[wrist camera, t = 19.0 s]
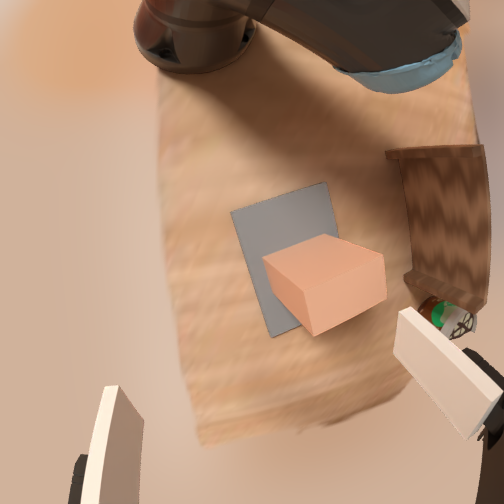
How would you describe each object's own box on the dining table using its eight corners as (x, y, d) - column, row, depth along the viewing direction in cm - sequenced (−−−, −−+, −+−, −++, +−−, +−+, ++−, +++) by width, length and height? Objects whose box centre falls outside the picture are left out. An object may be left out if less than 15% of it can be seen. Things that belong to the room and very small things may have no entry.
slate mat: (230, 212, 33) (231, 212, 33) (324, 182, 36) (326, 182, 35) (269, 335, 39) (271, 337, 38) (347, 300, 41) (349, 301, 41)
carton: (261, 257, 35) (303, 291, 24) (324, 233, 37) (383, 254, 25) (272, 292, 37) (313, 336, 25) (331, 267, 38) (387, 298, 27)
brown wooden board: (385, 151, 37) (471, 147, 22) (400, 147, 38) (483, 144, 23) (403, 281, 44) (474, 314, 29) (416, 273, 44) (486, 303, 29)
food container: (449, 287, 49) (484, 303, 39) (442, 314, 50) (475, 332, 41) (414, 294, 45) (453, 314, 36) (407, 324, 47) (443, 347, 37)
